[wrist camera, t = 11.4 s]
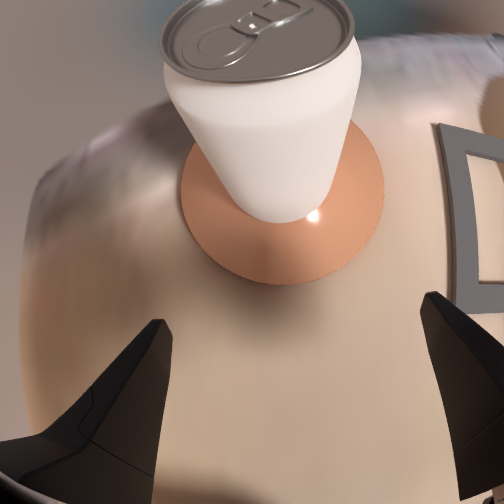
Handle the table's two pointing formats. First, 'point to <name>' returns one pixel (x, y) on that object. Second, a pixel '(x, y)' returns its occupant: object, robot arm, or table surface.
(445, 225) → the table surface
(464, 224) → the gray square frame
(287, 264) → the plate
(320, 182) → the can
